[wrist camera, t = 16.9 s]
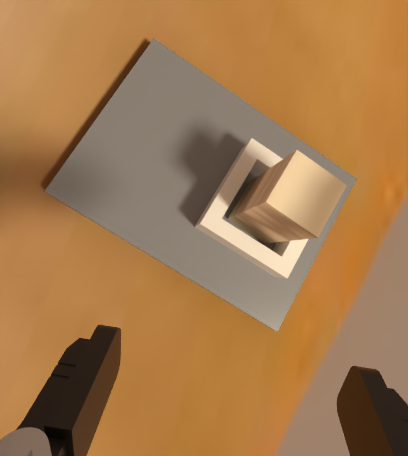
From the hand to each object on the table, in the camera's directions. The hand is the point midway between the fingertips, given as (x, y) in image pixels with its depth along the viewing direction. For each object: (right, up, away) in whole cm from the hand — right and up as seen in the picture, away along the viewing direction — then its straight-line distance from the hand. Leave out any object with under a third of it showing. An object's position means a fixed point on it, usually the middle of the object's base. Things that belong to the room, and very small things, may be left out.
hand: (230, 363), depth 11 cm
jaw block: (+4, +6, +21) cm, 22 cm away
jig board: (0, +9, +22) cm, 23 cm away
